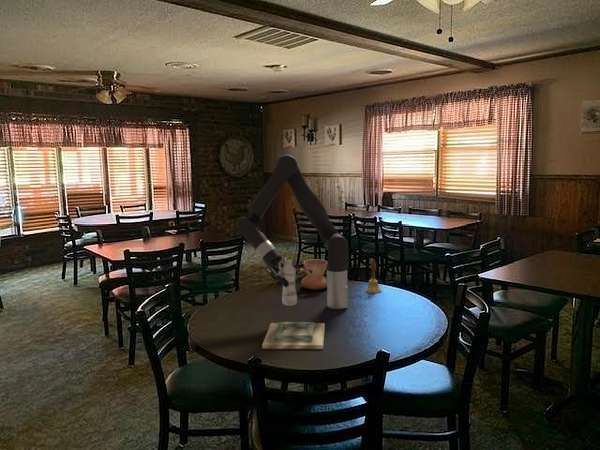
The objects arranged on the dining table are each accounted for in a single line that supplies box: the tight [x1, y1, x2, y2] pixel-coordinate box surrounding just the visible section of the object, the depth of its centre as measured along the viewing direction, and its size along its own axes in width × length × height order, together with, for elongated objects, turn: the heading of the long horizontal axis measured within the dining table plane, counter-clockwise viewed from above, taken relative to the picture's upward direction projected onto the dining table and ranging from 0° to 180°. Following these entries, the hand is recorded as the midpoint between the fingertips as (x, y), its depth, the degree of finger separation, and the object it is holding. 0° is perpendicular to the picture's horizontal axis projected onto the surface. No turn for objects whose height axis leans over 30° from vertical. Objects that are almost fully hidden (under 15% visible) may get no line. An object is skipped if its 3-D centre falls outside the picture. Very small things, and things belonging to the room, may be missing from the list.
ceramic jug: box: [299, 258, 328, 291], centre depth 247 cm, size 18×14×14 cm
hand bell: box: [364, 259, 383, 294], centre depth 238 cm, size 8×8×16 cm
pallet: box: [261, 321, 326, 350], centre depth 182 cm, size 22×22×4 cm
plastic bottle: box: [281, 257, 298, 306], centre depth 199 cm, size 6×7×20 cm
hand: (292, 283), depth 198 cm, fingers closed on plastic bottle, 6 cm apart
